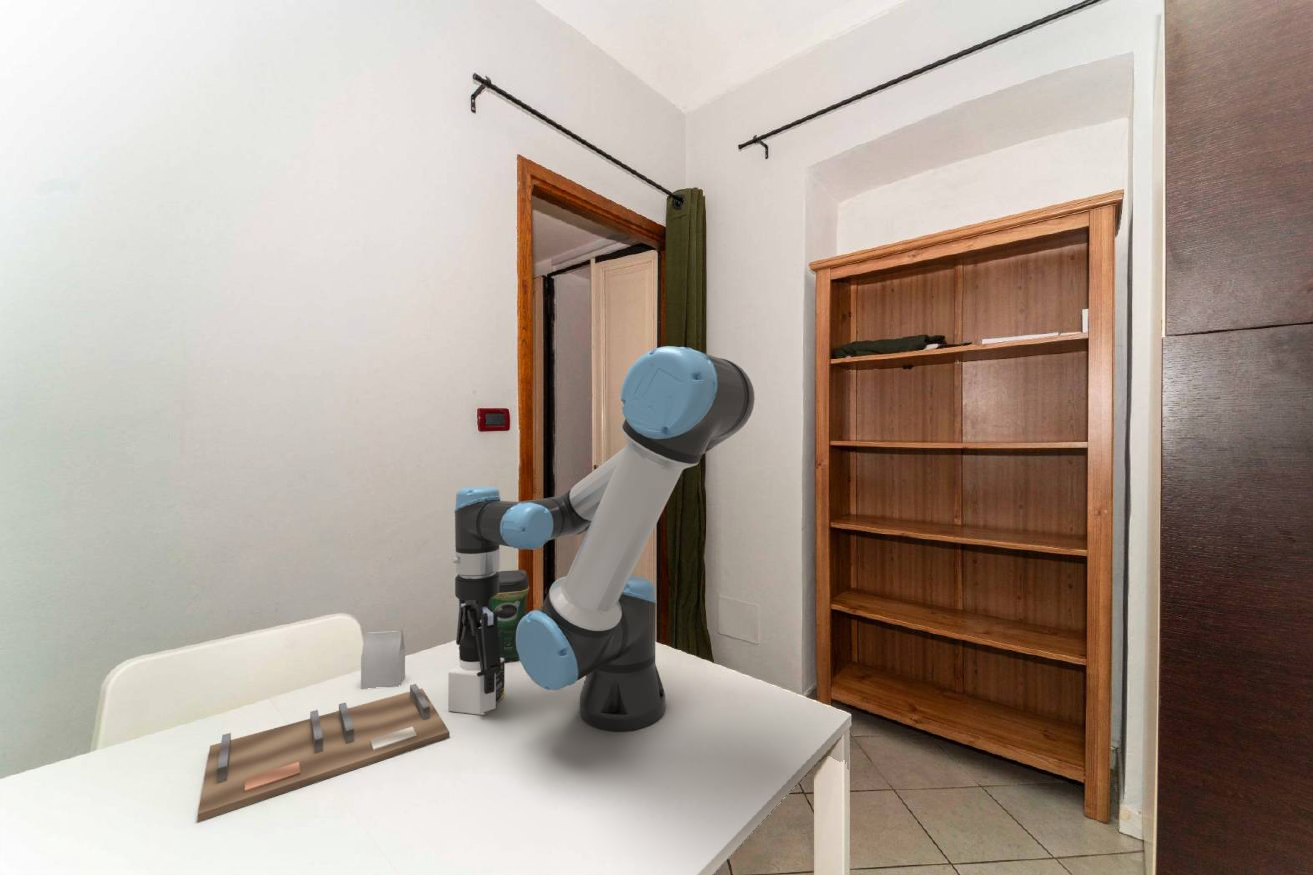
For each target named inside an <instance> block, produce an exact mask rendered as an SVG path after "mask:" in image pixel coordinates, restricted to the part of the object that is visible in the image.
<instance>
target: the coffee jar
mask: <svg viewBox="0 0 1313 875" xmlns="http://www.w3.org/2000/svg"><path fill="white" fill-rule="evenodd" d="M497 573H498V574H499V592H498V594H497V595H495V596H493V597H492V598H490V600H489V602H490V605H491V607H492V612H494V611H497V613H498V623H497V626H498V637H499V649H500V658H504V660H505V662H511V661H516V660H520V659H519V654H518V652H517V648H516V630H517V626H518V624H519V622H520V620H521V619H522V618H523V617H524V616H525V615H527V614H528V613H527V598H528V595H529V591H530V584H529V579H528V574H527V571H526V570H525V569H517V570H516V569H515V570H513V569H512V570H501V571H499V570H498V571H497Z"/></svg>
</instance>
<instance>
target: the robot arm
mask: <svg viewBox="0 0 1313 875" xmlns="http://www.w3.org/2000/svg"><path fill="white" fill-rule="evenodd" d="M754 389H755V388H754V386H753V383H752V381H751V378H750V377H749V376H748V374H747V373H746V372H745V371H744V369H743V368H742V367H740V365H738V364H737V363H734V362H733V361H731V360H728V359H726V358H721V357H716V356H713V355H711V354H707V353H705V352H702V351H699V350H695V349H693V348H691V347H684V346H680V347H679V346H672V345H671V346H669V345H666V346H660V347H657V348H654V349H652V350H649V351H648V352H645V353H644V354H642V355H641V356H640V357H639V358H638V359H636V361H635V362H634V363H633V364H632V366H631V367H630V368H629V370H628V371H627V373H626V375H625V378H624V380H623V382H622V386H621V390H620V401H621V402H622V403H623V405H622V407H621V410H622V414H623V416H624V418H625V419H624V421H623V423H622V424H621V425H622V426H621V432H622V434H623V437H624V439H625V442H626V444H625V446H624V447H623V448H622V449H621V450H620V451H618V452H617V453H615V454H613V456H611V457H610V458H609V459H607V460H606V461H605V462H603V463H602V464H601V465H600V466H598V467H597V468H595V470H593V471H592V472H591V473H589V474H588V475H586V477H584V478H582V479H581V480H580V481H578V482H577V483H575V485H573V486H572V487H571V488H569V489H568V490H567V491H566V492H564V493H563V494H561V495H558V496H553V497H552V496H551V497H546V498H538V499H532V500H531V499H530V500H528V499H527V500H522V501H507V500H501V494H500V491H499V489H498V488H497V487H493V486H470V487H469V486H468V487H463V488H460V489H458V491H457V492H456V494H455V509H454V512H453V513H454V539H455V543H454V544H455V545H454V546H455V547H454V548H455V557H453V558H452V559H451V561H452V563H453V564H455V573H456V574H457V575H456V576H455V578H454V588H455V589H454V595H455V597H456V598H457V599H458V604H459V605H458V620H457V629H456V630H457V631H456V640H455V643H456V645H457V646H459V643H460V641H461V640H462V639H463V638H465V637H467V636H469V635H471V634H473V635H475V636H476V642H477V649H478V655H479V662H480V668H481V672H479V673H477V676H478V677H479V713H482V712H486V711H488V712H489V711H491V710H495V709H497V708H496V706H497V705H496V704H497V703H496V673H497V672H500V671H501V660H500V649H499V637H498V626H497V623H498V613H497V611H494V612H492V607H491V605H490V602H489V600H490V598H492V597H493V596H495V595H497V594H498V592H499V574H498V573H497V572H499V570H500V567H501V566H500V564H501V562H500V561H501V556H500V555H501V554H500V552H501V551H500V550H501V548H500V546H503V547H510V548H514V549H518V550H522V551H523V550H537V549H540V548H542V547H543V546H544V545H545V544H546V543H548V541H551V540H555V539H559V538H564V537H569V536H576V535H580V534H581V535H582V534H583V533H585V535H584V538H583V539H582V542H581V543H580V546H579V548H578V551H577V552H576V555H575V558H574V560H573V562H572V564H571V565H570V568H569V571H568V573H567V575H566V576H562V577H559V578H557V579H556V580H555V581H554V582H552V584H551V586H550V588H549V590H548V592H547V594H546V597H545V599H544V601H543V604H542V606H540V608H539V609H534V610H531V611H529V612H528V613H527V615H525V616H524V617H523V618H522V619H521V620H520V622H519V624H518V626H517V630H516V648H517V652H518V654H519V659H518V660H519V661H520V664H521V666H522V668H523V670H524V671H525V673H526V674H527V676H528V677H529V678H530V679H531V680H532V681H533V683H534V684H536V685H537V686H539V687H540V688H543V689H545V690H548V691H550V690H551V691H558V690H562V689H563V688H565V687H567V686H572V685H574V684H576V683H577V681H579V680H581V679H583V678H584V677H585V678H584V682H583V686H582V688H581V692H580V693H579V700H578V701H579V707H578V709H579V715H580V716H581V718H582V719H583V721H585V723H587V724H588V725H591V726H592V727H595V728H598V729H601V730H606V731H614V732H621V731H622V732H624V731H625V732H626V731H634V730H639V729H642V728H646V727H648V726H651V725H652V724H654V723H656V722H658V720H659V719H661V718H662V716H664V713H665V711H666V693H665V689H664V686H663V684H662V683H663V682H662V680H661V676H660V673H659V671H658V667H657V665H656V664H657V663H656V618H657V617H656V613H657V612H656V609H657V608H656V606H657V605H656V604H657V599H656V588H655V584H654V583H653V581H651V580H650V579H649V578H646V577H642V576H636V575H632V574H633V572H634V570H635V568H636V566H637V564H638V562H639V560H640V558H641V555H642V553H643V551H644V550H645V547H646V545H647V544H648V541H649V539H650V537H651V535H652V533H653V531H654V529H655V527H656V525H657V524H658V521H659V520H660V517H661V515H662V513H663V511H664V509H665V506H666V505H667V503H668V501H669V499H670V496H671V495H672V493H673V491H674V489H675V486H676V485H677V483H678V480H679V478H680V477H681V474H682V473H683V471H684V470H685V469H687V468H688V469H689V468H692V467H694V466H698V464H699V463H700V461H701V459H702V457H703V455H704V454H705V453H708V452H709V451H711V450H713V449H714V448H715V447H717V446H718V445H720V444H722V443H723V442H724V441H726V440H727V439H729V438H731V437H732V436H733V435H735V434H737V433H738V432H739V431H740V430H742V429H743V428H744V426H746V424H747V423H748V421H749V419H750V418H751V416H752V413H753V411H754V406H755V400H756V399H755V390H754Z"/></svg>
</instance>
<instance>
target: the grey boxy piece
mask: <svg viewBox="0 0 1313 875" xmlns="http://www.w3.org/2000/svg"><path fill="white" fill-rule="evenodd" d="M363 637H364V638H363V644H362V650H361V654H360V655H361V657H360V690H368V688H372V689H377V688H376V687H386V688H397V687H398V688H399V687H400V686H401V684H402V683H403V682H404V680H405V679H406V646H405V642H404V640H405V639H404V634H403V630H392V631H391V630H389V631H374V632H373V631H372V632H370V631H369V632H365V633H364V636H363ZM404 678H405V679H404ZM401 682H402V683H401ZM399 685H400V686H399Z"/></svg>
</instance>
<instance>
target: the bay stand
mask: <svg viewBox="0 0 1313 875" xmlns="http://www.w3.org/2000/svg"><path fill="white" fill-rule="evenodd" d="M346 702H347V701H346ZM346 702H343V703H339V704H338V710H337V711H333V712H329V713H326V714H321V715H319V711H318V709H315V710H312V711H309V712H310V713H309V714H310V715H309V716H310V717H309V718H307V719H303V720H301V721H297V722H294V723H289V724H285V725H281V726H277V727H275V728H270V729H266V730H263V731H258V732H256V733H252V734H249V735H244V736H240V737H236V738H234V739H232V732H229V733H225V734H222V735H221V742H219V743H214V744H211V745H209V750H208V754H207V760H206V767H205V772H204V777H203V784H202V788H201V793H200V799H199V805H198V810H197V823H200V822H202V821H206V820H208V819H212V818H215V817H217V816H221V815H224V814H227V813H230V812H232V811H236V810H239V809H241V808H245V807H247V806H251V805H253V804H256V803H260V802H262V801H265V800H269V799H271V798H273V797H278V796H280V795H283V794H287V793H289V792H292V791H295V790H298V789H301V788H304V787H306V786H310V785H313V784H317V783H319V782H322V781H325V780H327V779H331V778H333V777H337V776H340V775H343V774H346V773H349V772H351V771H354V770H357V769H358V770H359V769H360V768H363V767H366V766H369V765H370V766H371V765H372V764H375V763H379V762H381V761H384V760H388V759H390V758H393V757H396V756H399V755H402V754H405V753H408V752H412V751H414V750H417V749H420V748H424V747H425V746H429V745H431V744H435V743H438V742H441V741H444V740H448V739H450V730H449V728H448V727H447V725H446V724H445V722H444V720H443V718H442V717H441V716H440V714H439V712H438V711H437V709H436V708H435V707H434V704H433V703H432V702H431V700H430V698H429V697H428V696H427V694H426V692H425V690H424V689H423V688H422V687H421V688H419V687H418V685H417V683H415V684H414V683H413V684H410V685H409V691H406V692H403V693H400V694H396V695H392V696H388V697H384V698H382V699H378V700H373V701H370V702H366V703H363V704H359V705H356V706H351V707H348V704H347V703H346Z"/></svg>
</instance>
